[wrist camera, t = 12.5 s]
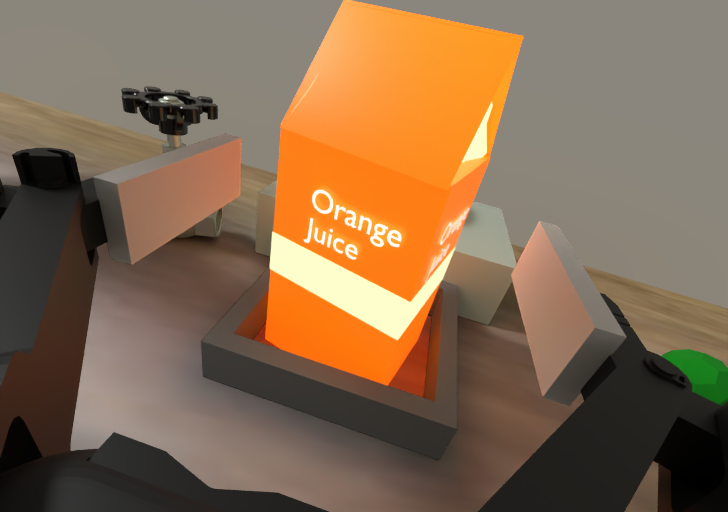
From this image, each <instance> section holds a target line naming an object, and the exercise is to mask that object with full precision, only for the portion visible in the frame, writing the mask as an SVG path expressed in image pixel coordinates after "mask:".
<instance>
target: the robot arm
mask: <svg viewBox="0 0 728 512" xmlns="http://www.w3.org/2000/svg"><path fill="white" fill-rule="evenodd" d="M12 156H13V159H14V162H15V165H16V168H17V171H18V174H19V177H20V181H21V186H20V187H17V186H9V185H2V182H1V179H0V512H328V511H326V510H323V509H320V508H318V507H315V506H312V505H309V504H307V503H304V502H301V501H299V500H296V499H293V498H290V497H288V496H285V495H282V494H280V493H274V492H257V491H240V490H223V489H214V488H211V487H209V486H207V485H206V484H205V483H203V482H202V481H201V480H200V479H198V478H197V477H196V476H195V475H194V474H192V473H191V472H190V471H189V470H188V469H186V468H185V467H184V466H183V465H181V464H180V463H179V462H178V461H177V460H175V459H174V458H173V457H172V456H171V455H169V454H168V453H167V452H166V451H163V450H161V449H158V448H155V447H152V446H150V445H147V444H144V443H142V442H139V441H136V440H134V439H131V438H128V437H125V436H123V435H120V434H117V433H115V432H114V433H113V434H112V435H111V436H110V437H109V438H108V439H107V440H106V441H105V443H104V444H103V445H102V446H101V447H100V448H99V449H88V450H75V451H70V443H71V434H72V428H73V421H74V415H75V408H76V402H77V395H78V389H79V382H80V376H81V369H82V363H83V356H84V350H85V343H86V337H87V330H88V324H89V317H90V311H91V304H92V298H93V291H94V285H95V278H96V272H97V265H98V259H99V257H98V253H97V249H96V247H98V246H100V245H102V244H104V243H106V242H107V245H108V250H109V255H110V258H111V259H114V260H118V261H121V262H124V263H127V264H130V265H132V264H134V263H136V262H137V261H139V260H140V259H142V258H143V257H145V256H147V255H148V254H150V253H151V252H153V251H154V250H156V249H158V248H159V247H161V246H162V245H164V244H165V243H167V242H168V241H170V240H172V239H173V238H175V237H176V236H178V235H179V234H181V233H183V232H184V231H186V230H187V229H189V228H190V227H192V226H193V225H195V224H197V223H198V222H200V221H201V220H203V219H204V218H206V217H208V216H209V215H211V214H212V213H214V212H215V211H217V210H219V209H220V208H222V207H223V206H225V205H226V204H228V203H229V202H231V201H233V200H234V199H236V198H237V197H239V196H240V178H241V138H240V137H236V136H232V135H229V134H222V135H219V136H216V137H213V138H210V139H207V140H204V141H201V142H198V143H195V144H191V145H188V146H185V147H182V148H179V149H176V150H173V151H170V152H167V153H164V154H161V155H158V156H155V157H152V158H149V159H146V160H142V161H139V162H136V163H133V164H130V165H127V166H124V167H121V168H118V169H115V170H112V171H109V172H106V173H103V174H100V175H97V176H94V177H93V178H91V179H88V180H85V181H82V182H81V180H80V176H79V172H78V167H77V163H76V159H75V155H74V154H73V153H71V152H69V151H66V150H62V149H54V148H33V149H25V150H21V151H18V152H16V153H14V154H13V155H12ZM511 277H512V281H513V285H514V289H515V293H516V297H517V301H518V304H519V308H520V312H521V316H522V320H523V324H524V328H525V332H526V335H527V339H528V343H529V347H530V351H531V355H532V359H533V363H534V366H535V370H536V374H537V378H538V382H539V386H540V390H541V393H542V397H543V398H547V399H550V400H553V401H556V402H559V403H562V404H565V405H568V406H570V404H571V403H572V402H573V401H574V400H575V398H576V397H577V396H578V395H579V394H580V392H581V393H582V396H583V399H584V402H583V403H582V404H581V405H580V406H579V407H578V408H577V409H576V410H575V411H574V412H573V413H572V414H571V415H570V417H569V418H568V419H567V420H566V421H565V422H564V423H563V424H562V425H561V426H560V427H559V428H558V429H557V430H556V431H555V432H554V433H553V434H552V435H551V436H550V437H549V438H548V439H547V440H546V441H545V442H544V443H543V444H542V446H541V447H540V448H539V449H538V450H537V451H536V452H535V453H534V454H533V455H532V456H531V457H530V458H529V459H528V460H527V461H526V462H525V463H524V464H523V465H522V466H521V467H520V468H519V469H518V470H517V471H516V472H515V473H514V475H513V476H512V477H511V478H510V479H509V480H508V481H507V482H506V483H505V484H504V485H503V486H502V487H501V488H500V489H499V490H498V491H497V492H496V493H495V494H494V495H493V496H492V497H491V498H490V499H489V500H488V501H487V503H486V504H485V505H484V506H483V507H482V508H481V509H480V510H479V511H478V512H624V511H625V510H626V508H627V506H628V504H629V502H630V501H631V499H632V497H633V495H634V494H635V492H636V490H637V488H638V486H639V485H640V483H641V481H642V479H643V478H644V476H645V474H646V472H647V470H648V469H649V467H650V465H651V463H652V461H655V462H656V463H658V464H659V469H658V512H728V402H726V403H725V404H724V405H723V406H721V405H719V404H717V403H715V402H713V401H711V400H709V399H707V398H705V397H703V396H701V395H698V394H696V393H694V392H692V383H691V382H690V380H689V378H688V377H687V376H686V375H685V374H684V373H683V372H682V371H681V370H680V369H679V368H678V367H677V366H675V365H674V364H673V363H671V362H670V361H668V360H667V359H665V358H663V357H661V356H659V355H658V354H655V353H652V352H650V351H647V350H646V348H645V347H644V345H643V344H642V342H641V341H640V339H639V338H638V336H637V335H636V333H635V332H634V330H633V329H632V327H630V324H629V323H628V321H627V319H626V318H624V315H623V313H622V312H621V310H620V309H619V307H618V306H617V305H616V304H615V303H614V302H613V301H612V300H611V299H609V298H608V297H607V296H606V295H605V294H602V293H599V291H598V290H597V288H596V286H595V285H594V283H593V282H592V280H591V278H590V277H589V275H588V273H587V272H586V270H585V269H584V267H583V265H582V264H581V262H580V261H579V259H578V257H577V256H576V254H575V253H574V251H573V249H572V248H571V246H570V244H569V243H568V241H567V240H566V238H565V236H564V235H563V233H562V231H561V230H560V228H559V227H558V226H556V225H552V224H549V223H545V222H542V221H539V223H538V225H537V227H536V229H535V231H534V232H533V234H532V236H531V238H530V240H529V242H528V244H527V246H526V248H525V249H524V251H523V253H522V255H521V257H520V259H519V261H518V263H517V265H516V267H515V268H514V270H513V272H512V274H511Z"/></svg>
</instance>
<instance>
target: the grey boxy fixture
mask: <svg viewBox="0 0 728 512" xmlns="http://www.w3.org/2000/svg"><path fill="white" fill-rule="evenodd" d="M276 190H277V180H276V181H274V182H273V183H271V184H270V185H268V186H267V187H265V188H264V189H262V190H261V191H259V192H258V203H257V224H256V245H255V252H256V253H260V254H263V255H266V256H269V257H270V256H271V242H272V232H273V229H274V216H275V203H276ZM516 265H517V263H516V260H515V256H514V253H513V249H512V246H511V243H510V239H509V236H508V232H507V228H506V225H505V221H504V218H503V214H502V211H501V209H499V208H495V207H492V206H488V205H485V204H482V203H478V202H474V201H473V203H472V205H471V208H470V210H469V213H468V215H467V218H466V220H465V223H464V225H463V228H462V230H461V233H460V235H459V238H458V240H457V243H456V245H455V250H454V252H453V255H452V257H451V260H450V262H449V265H448V267H447V270H446V272H445V275H444V277H443V279H442V280H441V283H440V285H439V288H438V290H437V293H436V295H435V298H434V300H433V303H432V305H431V308H430V310H429V313H428V315H429V316H432V320H431V330H430V339H429V349H428V359H427V369H426V378H425V388H424V398H423V397H420V396H417V395H414V394H411V393H408V392H405V391H402V390H399V389H396V388H393V387H390V386H387V385H384V384H381V383H378V382H375V381H373V380H370V379H367V378H364V377H361V376H358V375H355V374H352V373H349V372H346V371H343V370H340V369H337V368H334V367H331V366H328V365H325V364H322V363H319V362H317V361H314V360H311V359H308V358H305V357H302V356H299V355H296V354H293V353H290V352H287V351H284V350H281V349H278V348H275V347H272V346H269V345H266V344H263V343H261V342H258V341H255V340H253V339H254V338H255V336H256V335H257V334H258V332H259V331H260V330H261V328H262V327H263V326H264V324H265V323H266V321H267V308H268V295H269V282H270V266H269V267H268V268H267V269H266V270H265V271H264V272H263V274H262V275H261V276H260V277H259V278H258V279H257V280H256V281H255V282H254V283H253V284H252V286H251V287H250V288H249V289H248V290H247V291H246V292H245V293H244V294H243V295H242V297H241V298H240V299H239V300H238V301H237V302H236V303H235V304H234V305H233V306H232V308H231V309H230V310H229V311H228V312H227V313H226V314H225V315H224V316H223V317H222V319H221V320H220V321H219V322H218V323H217V324H216V325H215V326H214V327H213V328H212V329H211V331H210V332H209V333H208V334H207V335H206V336H205V337H204V338H203V339H202V340H201V348H202V366H203V377H206V378H209V379H212V380H215V381H218V382H220V383H223V384H226V385H229V386H232V387H235V388H237V389H240V390H243V391H246V392H249V393H251V394H254V395H257V396H260V397H263V398H266V399H268V400H271V401H274V402H277V403H280V404H282V405H285V406H288V407H291V408H294V409H297V410H299V411H302V412H305V413H308V414H311V415H313V416H316V417H319V418H322V419H325V420H328V421H330V422H333V423H336V424H339V425H342V426H344V427H347V428H350V429H353V430H356V431H359V432H361V433H364V434H367V435H370V436H373V437H375V438H378V439H381V440H384V441H387V442H390V443H392V444H395V445H398V446H401V447H404V448H406V449H409V450H412V451H415V452H418V453H421V454H423V455H426V456H429V457H432V458H435V459H437V460H439V459H440V457H441V455H442V454H443V452H444V450H445V449H446V447H447V445H448V444H449V442H450V440H451V439H452V437H453V435H454V434H455V432H456V430H457V324H458V316H460V317H464V318H467V319H470V320H473V321H476V322H480V323H483V324H486V325H489V323H490V321H491V320H492V318H493V316H494V314H495V312H496V310H497V308H498V307H499V305H500V303H501V301H502V299H503V297H504V295H505V293H506V292H507V290H508V288H509V286H510V284H511V282H512V277H511V274H512V272H513V270H514V268H515V267H516Z"/></svg>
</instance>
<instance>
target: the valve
mask: <svg viewBox="0 0 728 512" xmlns="http://www.w3.org/2000/svg"><path fill="white" fill-rule="evenodd" d="M144 91H145V92H139V91H138V90H136V89H131V88H123V89H122V102H123V109H124V111H125V112H129V113H137V107H139V109H140V112H141V114H142V116H143V117H144V118H145V119H146V120H147V121H149V122H150V123H152V124H155V125H159V131H160V132H161V133H164V134H167V141H168V142H165V143H163V144H162V149H163V154H164V153H167V152H170V151H173V150H176V149H179V148H182V147H185V146H186V145H185V144H183V143H181V135H186V134H187V132H188V131H187V126H188V125H191V124H196V123H200V114H202V113H203V112H205V113H208V119H211V120H212V119H213V120H215V119H217V118H218V107H217V105H216V104H213V100H212V99H211V98H209V97H204V96H199V97H198V98H195V97H191V96H190V93H189V92H188V91H184V90H175V93H171V92H163V91H161V90H160V89H159V88H156V87H145V88H144ZM156 101H158V102H156ZM184 104H185V105H184ZM222 221H223V207H222V208H220V209H219V210H217V211H215V212H214V213H212V214H211V215H209V216H208V217H206V218H204V219H203V220H201V221H200V222H198V223H197V224H195V225H193V226H192V227H190V228H189V229H187V230H186V231H184V232H183V233H181V234H179V235H178V236H176V237H177V238H186V237H191V236H194V235H201V236H210V237H218V236H219V235H220V232H221V228H222Z"/></svg>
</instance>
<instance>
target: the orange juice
mask: <svg viewBox="0 0 728 512" xmlns="http://www.w3.org/2000/svg"><path fill="white" fill-rule="evenodd" d="M523 37H524V36H520V35H515V34H510V33H506V32H501V31H496V30H491V29H486V28H481V27H477V26H471V25H467V24H462V23H457V22H452V21H448V20H443V19H438V18H433V17H428V16H423V15H419V14H414V13H409V12H404V11H399V10H395V9H389V8H385V7H380V6H375V5H370V4H366V3H360V2H356V1H351V0H344V1H343V3H342V5H341V7H340V9H339V11H338V13H337V15H336V17H335V19H334V21H333V23H332V24H331V26H330V28H329V30H328V32H327V34H326V37H325V38H324V40H323V42H322V44H321V46H320V48H319V50H318V52H317V54H316V56H315V58H314V60H313V62H312V64H311V66H310V68H309V70H308V72H307V74H306V76H305V78H304V80H303V82H302V84H301V86H300V88H299V90H298V92H297V94H296V96H295V98H294V100H293V102H292V104H291V106H290V108H289V110H288V111H287V114H286V115H285V118H284V120H283V121H282V124H281V125H280V127H281V137H280V151H279V164H278V177H277V190H276V203H275V216H274V229H273V232H272V242H271V256H270V282H269V295H268V308H267V321H266V334H265V339H266V340H268V341H269V342H271V343H272V344H274V345H275V346H277V347H278V348H280V349H282V350H284V351H287V352H290V353H293V354H296V355H299V356H302V357H305V358H308V359H311V360H314V361H317V362H319V363H322V364H325V365H328V366H331V367H334V368H337V369H340V370H343V371H346V372H349V373H352V374H355V375H358V376H361V377H364V378H367V379H370V380H373V381H375V382H378V383H381V384H384V385H387V386H388V384H389V383H390V381H391V380H392V378H393V377H394V375H395V374H396V372H397V371H398V369H399V367H400V366H401V364H402V363H403V361H404V360H405V358H406V357H407V355H408V354H409V352H410V351H411V349H412V348H413V346H414V345H415V343H416V341H417V340H418V338H419V335H420V333H421V330H422V328H423V325H424V323H425V320H426V318H427V315H428V313H429V310H430V308H431V305H432V303H433V300H434V298H435V295H436V293H437V290H438V288H439V285H440V283H441V280H442V279H443V277H444V275H445V272H446V270H447V267H448V265H449V262H450V260H451V257H452V255H453V252H454V250H455V245H456V243H457V240H458V238H459V235H460V233H461V230H462V228H463V225H464V223H465V220H466V218H467V215H468V213H469V210H470V208H471V205H472V203H473V200H474V198H475V195H476V193H477V190H478V188H479V185H480V183H481V180H482V178H483V175H484V173H485V170H486V168H487V165H488V163H489V160H490V158H491V157H489V156H490V152H491V149H492V145H493V142H494V138H495V134H496V131H497V127H498V123H499V120H500V117H501V113H502V109H503V106H504V102H505V99H506V95H507V92H508V87H509V84H510V81H511V77H512V73H513V70H514V67H515V63H516V60H517V56H518V52H519V49H520V45H521V42H522V39H523Z"/></svg>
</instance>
